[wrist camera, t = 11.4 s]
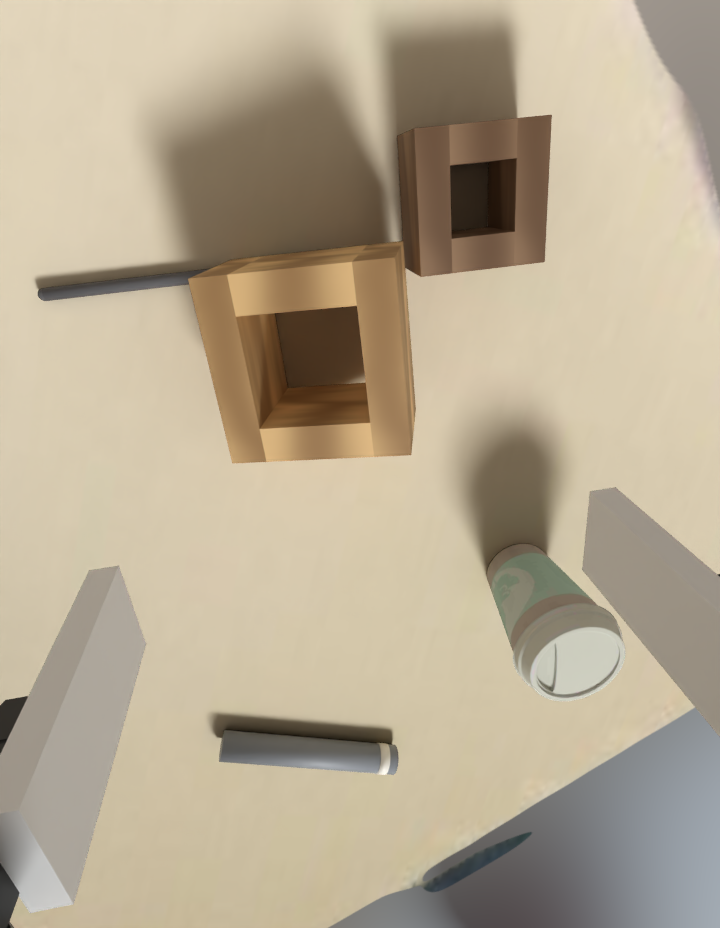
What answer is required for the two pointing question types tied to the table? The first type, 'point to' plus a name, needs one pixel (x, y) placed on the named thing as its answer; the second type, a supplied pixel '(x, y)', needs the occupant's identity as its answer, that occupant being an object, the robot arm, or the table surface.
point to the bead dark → (509, 194)
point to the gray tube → (308, 752)
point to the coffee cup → (553, 626)
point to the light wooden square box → (261, 364)
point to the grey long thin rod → (116, 285)
